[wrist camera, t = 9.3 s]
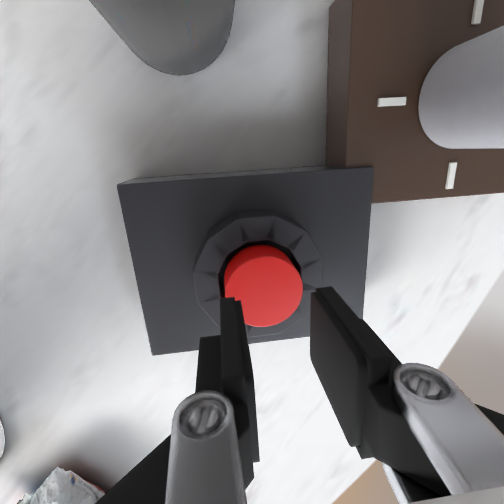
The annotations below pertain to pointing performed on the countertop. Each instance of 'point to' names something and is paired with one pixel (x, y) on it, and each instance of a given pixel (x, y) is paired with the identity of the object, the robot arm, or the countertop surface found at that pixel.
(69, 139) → the countertop surface
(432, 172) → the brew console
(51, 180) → the countertop surface
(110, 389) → the countertop surface
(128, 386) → the countertop surface
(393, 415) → the robot arm
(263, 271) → the power button
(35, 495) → the packaged food
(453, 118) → the dial
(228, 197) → the push button base
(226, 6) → the bottle
